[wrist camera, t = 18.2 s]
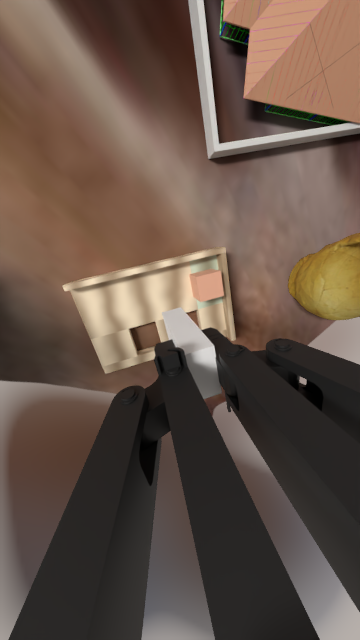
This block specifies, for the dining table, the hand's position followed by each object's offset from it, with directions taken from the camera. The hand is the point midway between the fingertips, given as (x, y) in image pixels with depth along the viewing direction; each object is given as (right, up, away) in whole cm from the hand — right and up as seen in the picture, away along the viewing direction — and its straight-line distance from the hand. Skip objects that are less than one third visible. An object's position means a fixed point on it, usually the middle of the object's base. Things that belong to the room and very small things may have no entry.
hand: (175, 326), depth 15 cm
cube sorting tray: (-5, +2, +30) cm, 30 cm away
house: (+22, +50, +20) cm, 58 cm away
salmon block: (+5, +9, +28) cm, 29 cm away
